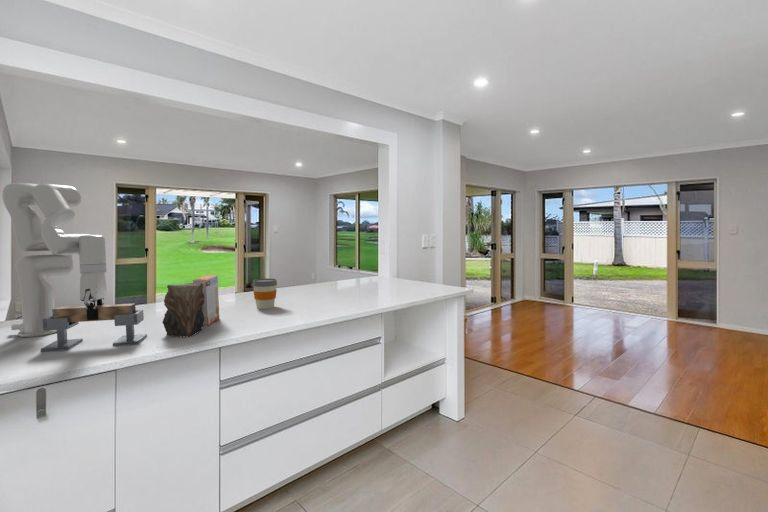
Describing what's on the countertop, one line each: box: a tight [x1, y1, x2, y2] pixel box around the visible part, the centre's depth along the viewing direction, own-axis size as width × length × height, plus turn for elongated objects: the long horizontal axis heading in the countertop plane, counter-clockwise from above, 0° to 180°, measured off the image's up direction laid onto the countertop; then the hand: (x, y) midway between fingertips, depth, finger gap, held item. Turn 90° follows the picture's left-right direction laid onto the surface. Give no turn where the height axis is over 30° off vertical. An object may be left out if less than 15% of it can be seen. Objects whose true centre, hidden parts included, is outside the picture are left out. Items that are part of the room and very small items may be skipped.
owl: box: [161, 282, 204, 338], centre depth 149 cm, size 13×13×20 cm
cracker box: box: [192, 274, 220, 327], centre depth 164 cm, size 14×6×21 cm, turn 5°
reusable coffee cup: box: [252, 278, 278, 310], centre depth 197 cm, size 13×13×15 cm
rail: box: [52, 303, 137, 323], centre depth 133 cm, size 24×4×5 cm, turn 108°
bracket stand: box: [40, 309, 148, 353], centre depth 134 cm, size 29×10×11 cm, turn 108°
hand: (95, 317), depth 133 cm, fingers open, 4 cm apart
